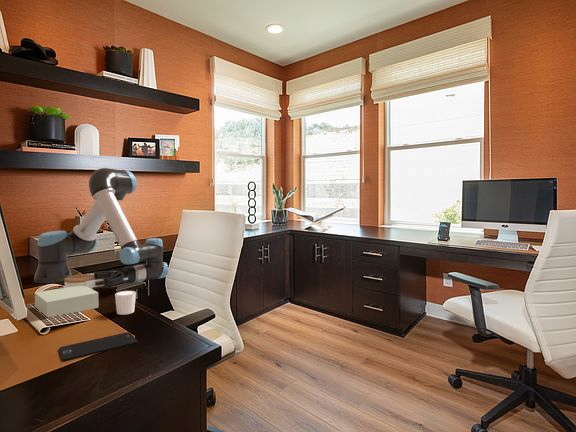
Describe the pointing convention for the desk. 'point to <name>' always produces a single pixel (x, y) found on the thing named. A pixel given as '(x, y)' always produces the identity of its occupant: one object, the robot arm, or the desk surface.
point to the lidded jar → (78, 280)
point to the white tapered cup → (125, 302)
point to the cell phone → (96, 346)
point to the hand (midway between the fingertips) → (80, 281)
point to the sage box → (66, 300)
